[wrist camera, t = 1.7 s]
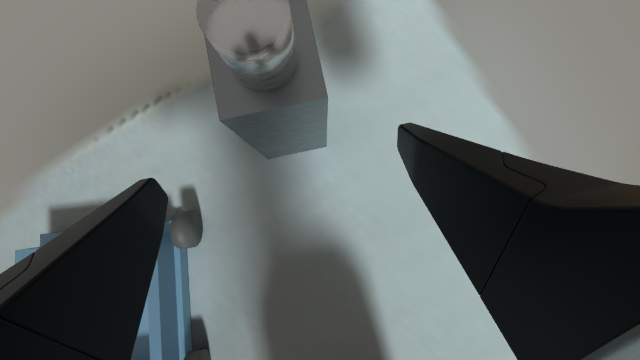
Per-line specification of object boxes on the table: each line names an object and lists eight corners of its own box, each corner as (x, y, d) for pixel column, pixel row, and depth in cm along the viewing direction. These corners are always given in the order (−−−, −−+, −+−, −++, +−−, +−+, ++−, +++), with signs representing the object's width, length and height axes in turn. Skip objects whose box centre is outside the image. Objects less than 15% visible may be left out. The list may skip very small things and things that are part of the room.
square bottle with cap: (326, 146, 21) (329, 59, 9) (268, 158, 21) (183, 90, 9) (314, 90, 22) (299, -72, 9) (257, 102, 22) (160, -43, 9)
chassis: (211, 379, 20) (191, 410, 17) (54, 395, 20) (7, 429, 17) (201, 209, 21) (181, 210, 18) (53, 225, 21) (9, 229, 18)
